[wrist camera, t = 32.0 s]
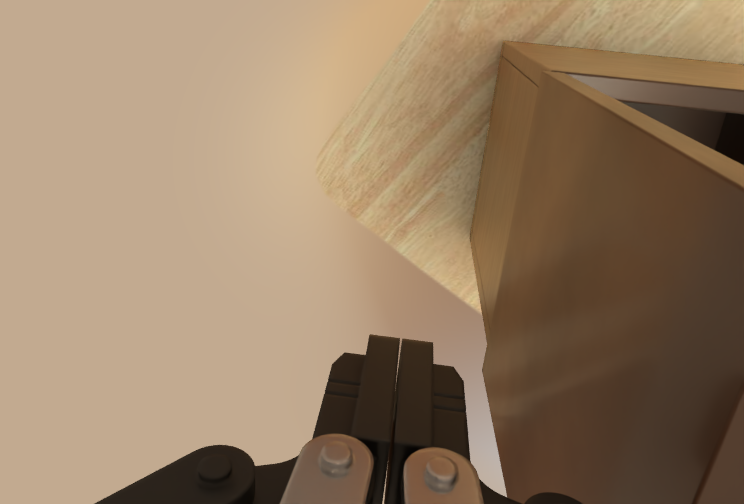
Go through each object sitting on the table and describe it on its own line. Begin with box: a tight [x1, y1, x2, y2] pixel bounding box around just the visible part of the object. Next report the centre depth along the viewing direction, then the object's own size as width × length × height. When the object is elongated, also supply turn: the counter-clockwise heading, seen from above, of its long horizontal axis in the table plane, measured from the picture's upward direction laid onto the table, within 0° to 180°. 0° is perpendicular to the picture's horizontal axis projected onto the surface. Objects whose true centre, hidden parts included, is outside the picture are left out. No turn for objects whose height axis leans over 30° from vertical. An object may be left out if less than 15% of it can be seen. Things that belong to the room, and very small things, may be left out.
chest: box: [470, 41, 744, 343], centre depth 29 cm, size 14×12×14 cm
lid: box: [482, 71, 744, 504], centre depth 16 cm, size 14×12×1 cm
